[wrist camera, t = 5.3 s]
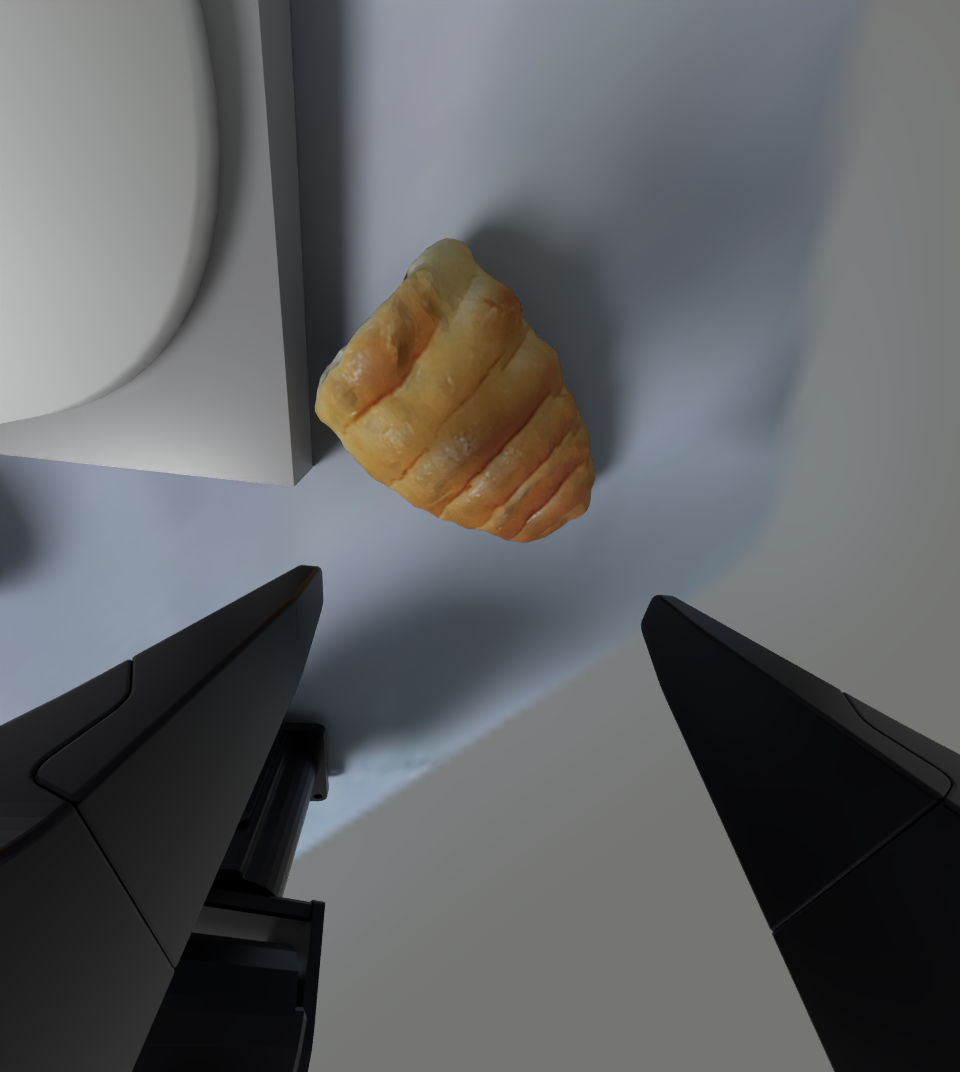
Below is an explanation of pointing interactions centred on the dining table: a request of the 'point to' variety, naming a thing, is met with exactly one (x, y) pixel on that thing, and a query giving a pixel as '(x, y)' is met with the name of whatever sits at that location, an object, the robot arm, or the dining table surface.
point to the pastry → (461, 403)
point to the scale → (152, 238)
